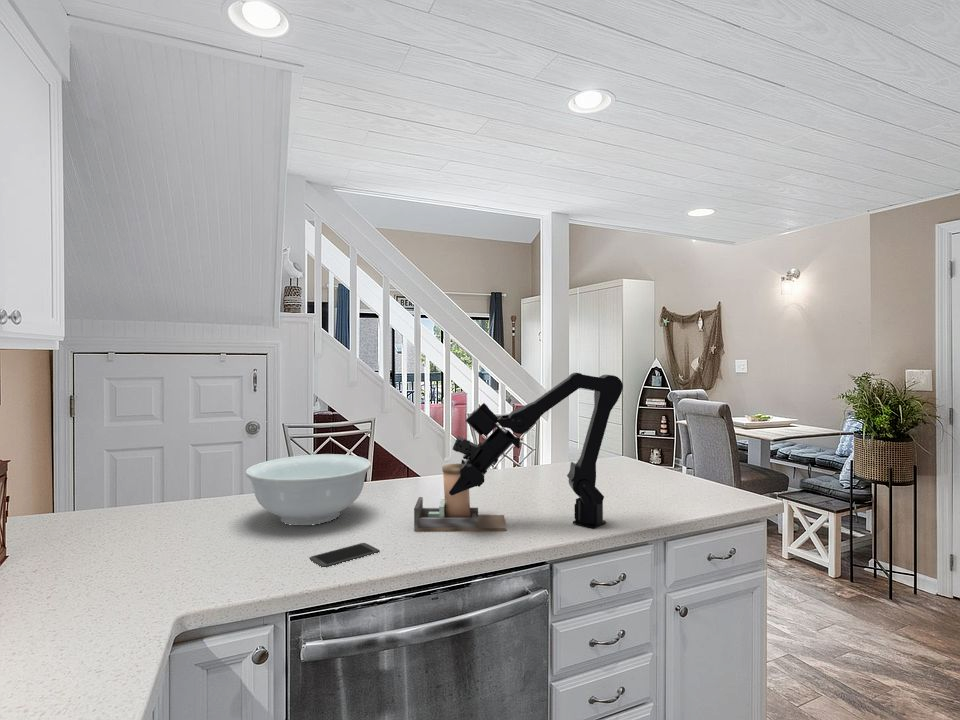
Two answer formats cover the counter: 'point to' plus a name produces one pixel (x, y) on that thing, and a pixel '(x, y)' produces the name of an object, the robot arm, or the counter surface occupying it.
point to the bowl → (308, 486)
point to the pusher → (441, 511)
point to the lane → (456, 521)
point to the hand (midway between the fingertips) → (450, 490)
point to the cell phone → (343, 554)
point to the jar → (459, 502)
